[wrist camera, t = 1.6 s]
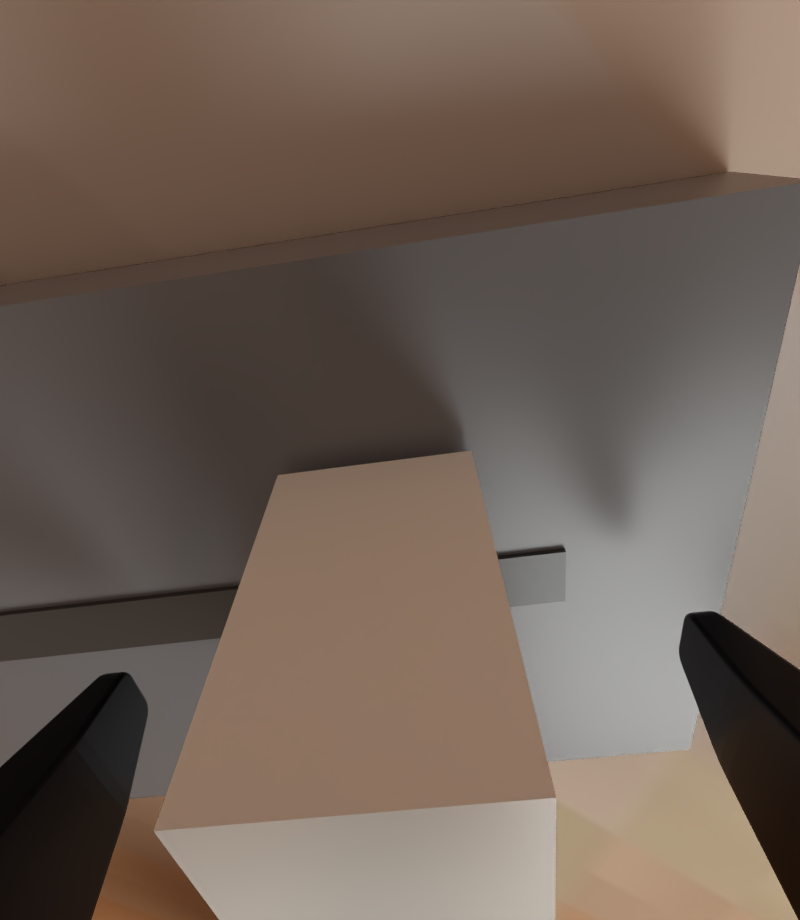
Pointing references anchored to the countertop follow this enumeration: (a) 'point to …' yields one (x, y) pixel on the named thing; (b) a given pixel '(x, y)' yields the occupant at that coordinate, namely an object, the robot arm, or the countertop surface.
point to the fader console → (399, 438)
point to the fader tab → (368, 715)
